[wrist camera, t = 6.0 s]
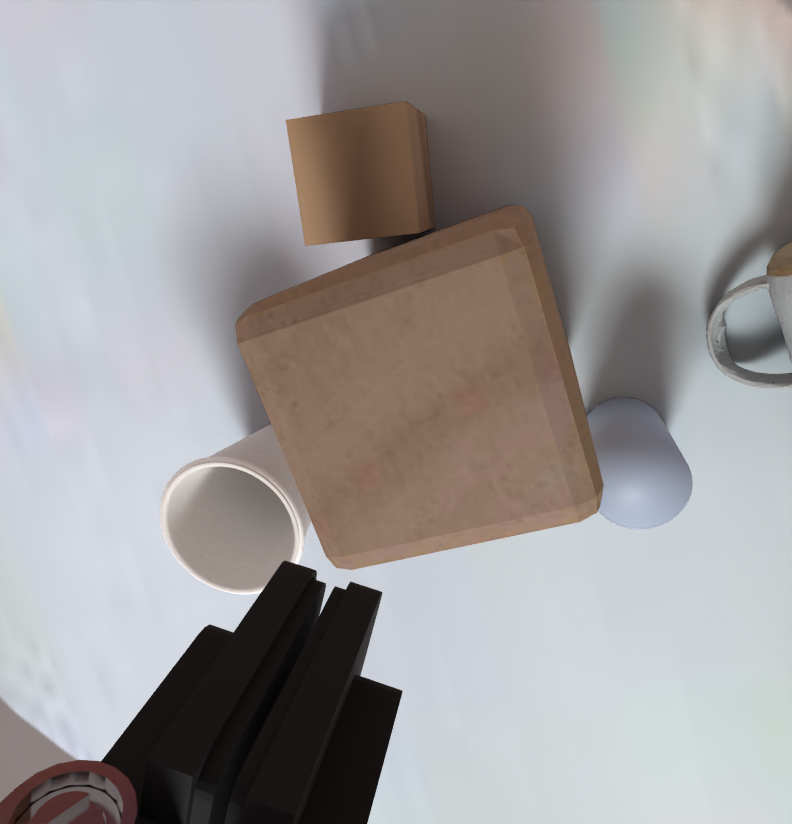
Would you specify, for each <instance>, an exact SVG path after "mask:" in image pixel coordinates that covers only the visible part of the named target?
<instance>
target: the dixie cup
mask: <svg viewBox="0 0 792 824" xmlns="http://www.w3.org/2000/svg"><path fill="white" fill-rule="evenodd" d="M160 522H161V527H162V531H163V535H164V537H165V540H166V542H167V544H168V546H169V548H170V550H171V552H172V553H173V555H174V556H175V557H176V559H177V560H178V561H179V563H180V564H181V565H182V566H183V567H184V568H185V569H186V570H187V571H188V572H189V573H191V574H192V575H193V576H194V577H196V578H197V579H199V580H200V581H202V582H204V583H205V584H207V585H209V586H211V587H214V588H216V589H219V590H222V591H225V592H230V593H236V594H255V593H260V592H262V591H263V589H264V588H265V586H266V585H267V583H268V582H269V580H270V579H271V578H272V576H273V575H274V573H275V572H276V570H277V569H278V567H279V566H280V565H281V563H282V562H283V561H285V560H286V561H289V562H292V563H295V564H298V563H299V561H300V559H301V556H302V553H303V548H304V538H305V536H306V533H307V531H308V528H309V526H310V523H311V519H310V516H309V514H308V512H307V509H306V507H305V504H304V502H303V500H302V497H301V495H300V492H299V490H298V488H297V485H296V483H295V480H294V478H293V476H292V473H291V471H290V468H289V466H288V464H287V461H286V459H285V456H284V454H283V452H282V449H281V447H280V444H279V442H278V440H277V437H276V435H275V432H274V430H273V428H272V425H271V424H269V425H268V426H266V427H264V428H262V429H260V430H258V431H257V432H255V433H253V434H251V435H249V436H247V437H245V438H244V439H242V440H240V441H238V442H236V443H234V444H232V445H231V446H229V447H227V448H225V449H223V450H221V451H220V452H218V453H216V454H214V455H212V456H210V457H207V458H203V459H199V460H196V461H194V462H191V463H189V464H187V465H186V466H184V467H183V468H181V469H180V470H179V471H178V472H177V473H176V474H175V475H174V476H173V477H172V478H171V479H170V481H169V482H168V484H167V486H166V488H165V490H164V492H163V495H162V499H161V504H160Z"/></svg>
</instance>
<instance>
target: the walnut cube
mask: <svg viewBox="0 0 792 824" xmlns="http://www.w3.org/2000/svg"><path fill="white" fill-rule="evenodd" d="M286 124H287V131H288V137H289V144H290V150H291V156H292V163H293V169H294V176H295V182H296V189H297V195H298V202H299V208H300V215H301V221H302V227H303V234H304V240H305V246H309V245H317V244H326V243H335V242H344V241H353V240H362V239H371V238H380V237H389V236H397V235H406V234H415V233H421V232H423V231H426V230H428V229H431V228H433V227H436V225H435V215H434V204H433V194H432V183H431V173H430V162H429V151H428V141H427V130H426V120H425V114H423V113H422V112H421V111H419V110H418V109H416V108H415V107H414V106H412V105H411V104H409V103H408V102H407V101H403V102H397V103H390V104H384V105H378V106H372V107H365V108H359V109H353V110H346V111H340V112H334V113H327V114H321V115H315V116H309V117H302V118H296V119H290V120H286Z"/></svg>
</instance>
